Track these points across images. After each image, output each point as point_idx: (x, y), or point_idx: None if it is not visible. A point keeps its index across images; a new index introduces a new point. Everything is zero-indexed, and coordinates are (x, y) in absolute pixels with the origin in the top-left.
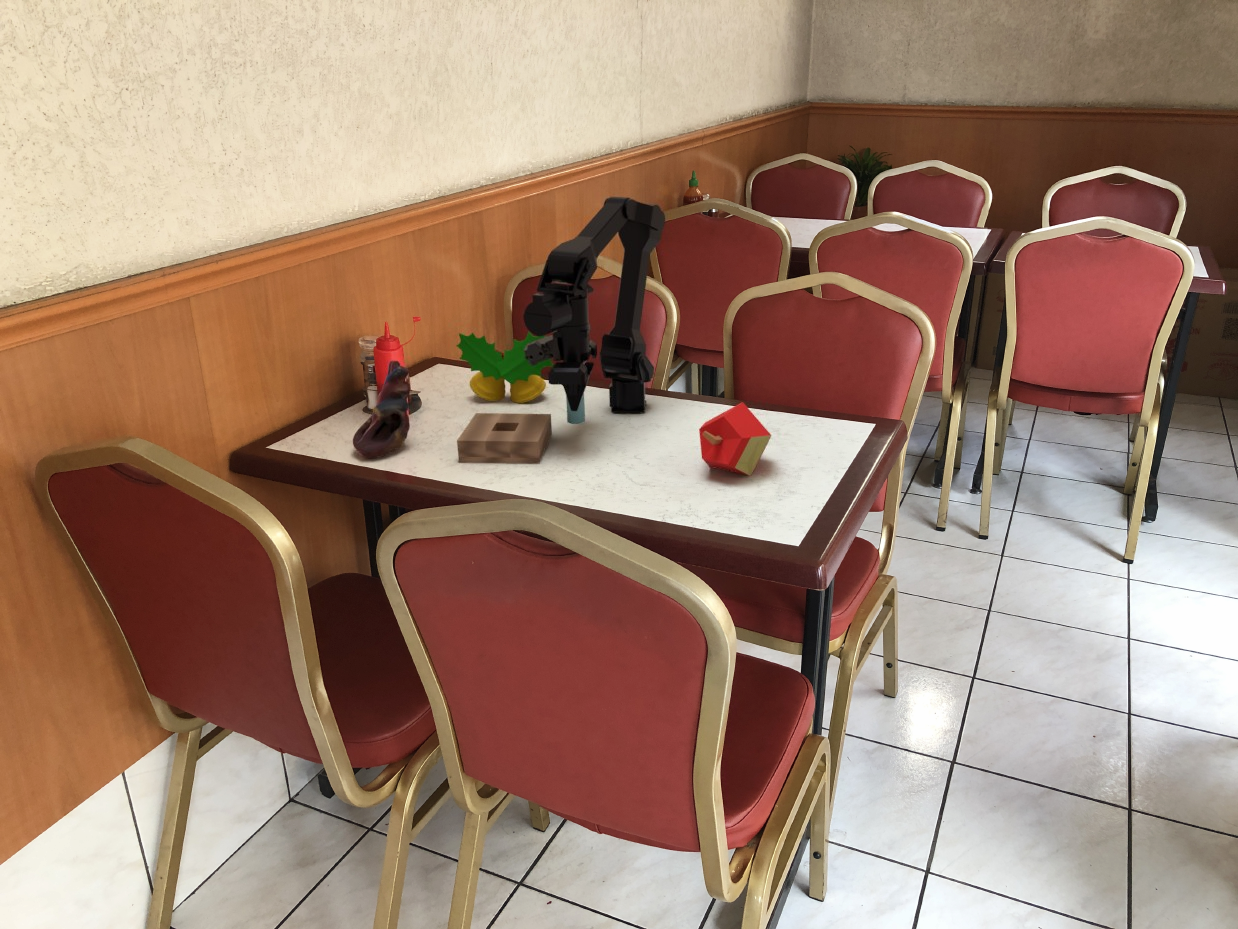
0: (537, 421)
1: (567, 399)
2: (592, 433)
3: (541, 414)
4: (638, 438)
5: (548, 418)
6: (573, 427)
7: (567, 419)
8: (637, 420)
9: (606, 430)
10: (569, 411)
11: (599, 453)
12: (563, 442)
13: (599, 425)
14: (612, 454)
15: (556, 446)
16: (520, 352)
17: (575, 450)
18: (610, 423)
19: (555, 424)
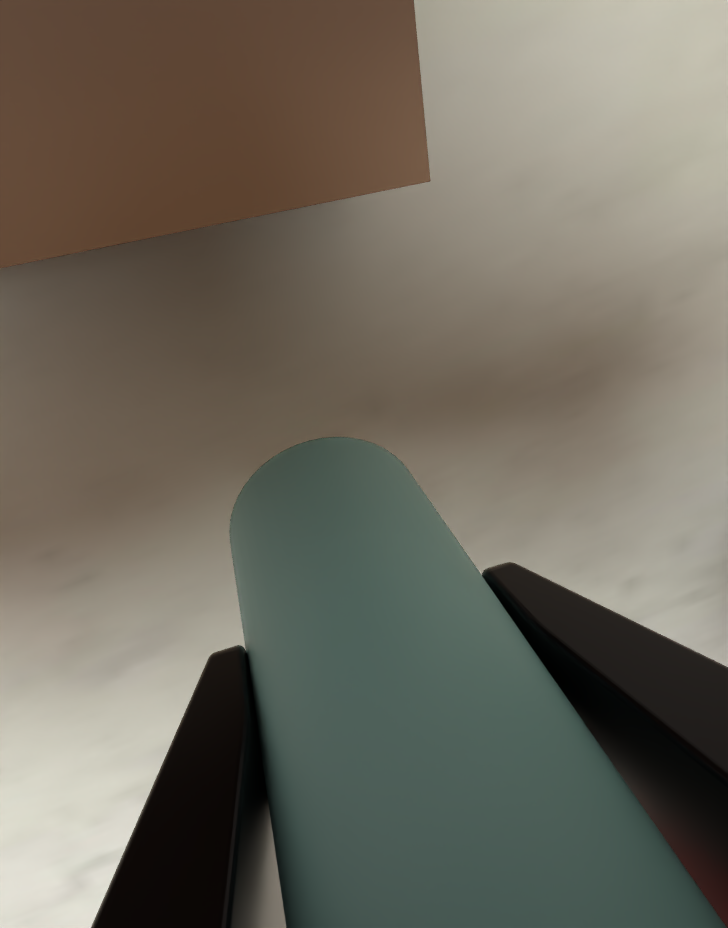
0: (37, 66)
1: (301, 699)
2: (437, 496)
3: (388, 21)
4: None
5: (237, 215)
6: (551, 306)
7: (277, 472)
8: (675, 639)
9: (505, 556)
10: (250, 591)
11: (55, 693)
12: (180, 358)
13: (597, 478)
14: (76, 761)
15: (51, 333)
16: None
17: (33, 527)
18: (633, 528)
19: (622, 100)
